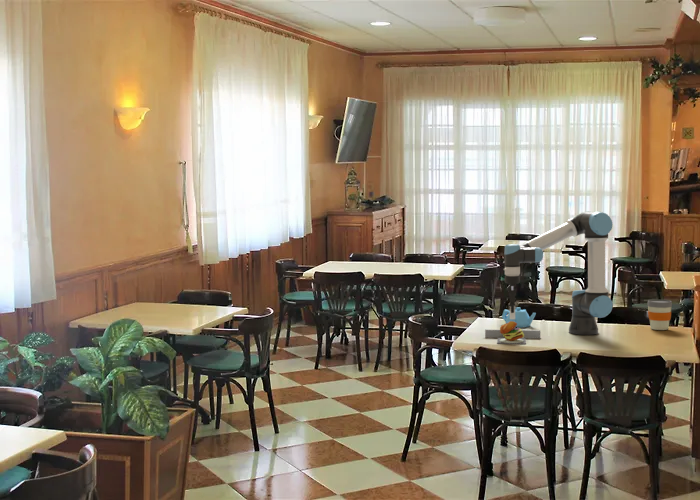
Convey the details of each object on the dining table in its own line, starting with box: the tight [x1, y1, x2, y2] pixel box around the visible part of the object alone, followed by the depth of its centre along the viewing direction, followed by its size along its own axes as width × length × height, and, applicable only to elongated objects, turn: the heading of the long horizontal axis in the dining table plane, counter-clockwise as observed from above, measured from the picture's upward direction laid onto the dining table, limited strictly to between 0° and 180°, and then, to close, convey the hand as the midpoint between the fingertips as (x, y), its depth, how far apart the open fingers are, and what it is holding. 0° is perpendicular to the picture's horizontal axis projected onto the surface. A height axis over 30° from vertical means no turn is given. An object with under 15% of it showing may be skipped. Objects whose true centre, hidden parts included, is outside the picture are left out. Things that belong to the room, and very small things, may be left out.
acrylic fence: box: [484, 328, 541, 339], centre depth 429 cm, size 28×1×4 cm, turn 79°
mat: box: [496, 338, 527, 345], centre depth 418 cm, size 14×14×1 cm
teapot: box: [501, 306, 537, 329], centre depth 463 cm, size 15×15×11 cm
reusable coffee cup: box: [646, 299, 673, 331], centre depth 448 cm, size 13×13×15 cm
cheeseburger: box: [499, 321, 524, 341], centre depth 418 cm, size 10×11×10 cm
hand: (512, 317), depth 417 cm, fingers open, 13 cm apart
